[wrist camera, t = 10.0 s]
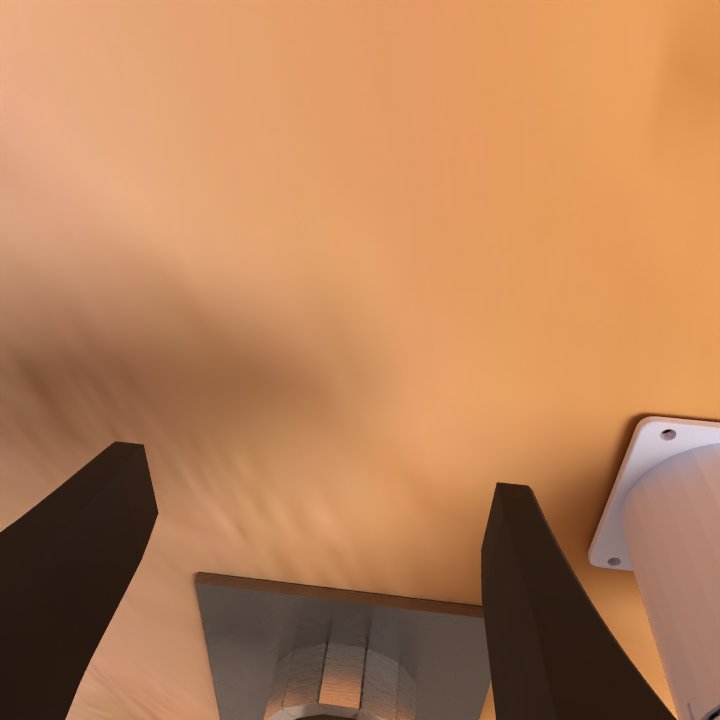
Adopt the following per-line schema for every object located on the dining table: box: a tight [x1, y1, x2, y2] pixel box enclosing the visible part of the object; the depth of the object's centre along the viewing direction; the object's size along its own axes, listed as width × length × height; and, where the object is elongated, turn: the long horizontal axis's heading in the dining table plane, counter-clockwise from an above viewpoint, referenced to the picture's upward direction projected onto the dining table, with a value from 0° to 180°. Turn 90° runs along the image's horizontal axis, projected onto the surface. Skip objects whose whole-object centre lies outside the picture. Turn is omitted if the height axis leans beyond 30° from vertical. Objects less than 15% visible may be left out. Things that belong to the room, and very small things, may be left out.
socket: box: [195, 573, 491, 720], centre depth 32 cm, size 15×15×4 cm
